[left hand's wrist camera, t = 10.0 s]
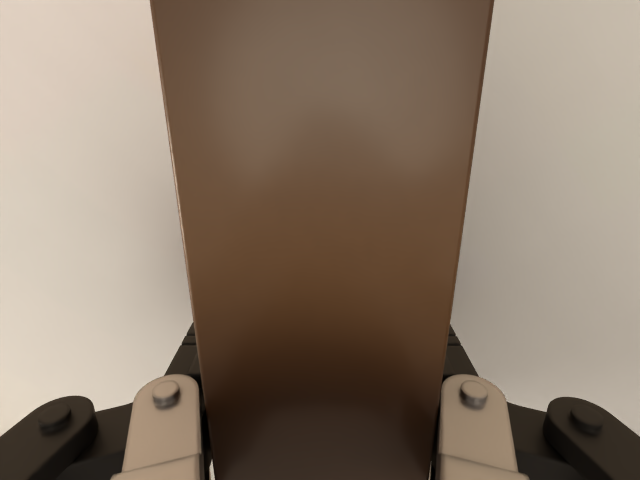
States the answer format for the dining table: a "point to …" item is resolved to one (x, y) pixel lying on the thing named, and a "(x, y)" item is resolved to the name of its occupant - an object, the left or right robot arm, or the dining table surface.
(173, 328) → the dining table surface
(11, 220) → the dining table surface
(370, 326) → the beam
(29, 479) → the left robot arm
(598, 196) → the dining table surface
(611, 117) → the dining table surface
